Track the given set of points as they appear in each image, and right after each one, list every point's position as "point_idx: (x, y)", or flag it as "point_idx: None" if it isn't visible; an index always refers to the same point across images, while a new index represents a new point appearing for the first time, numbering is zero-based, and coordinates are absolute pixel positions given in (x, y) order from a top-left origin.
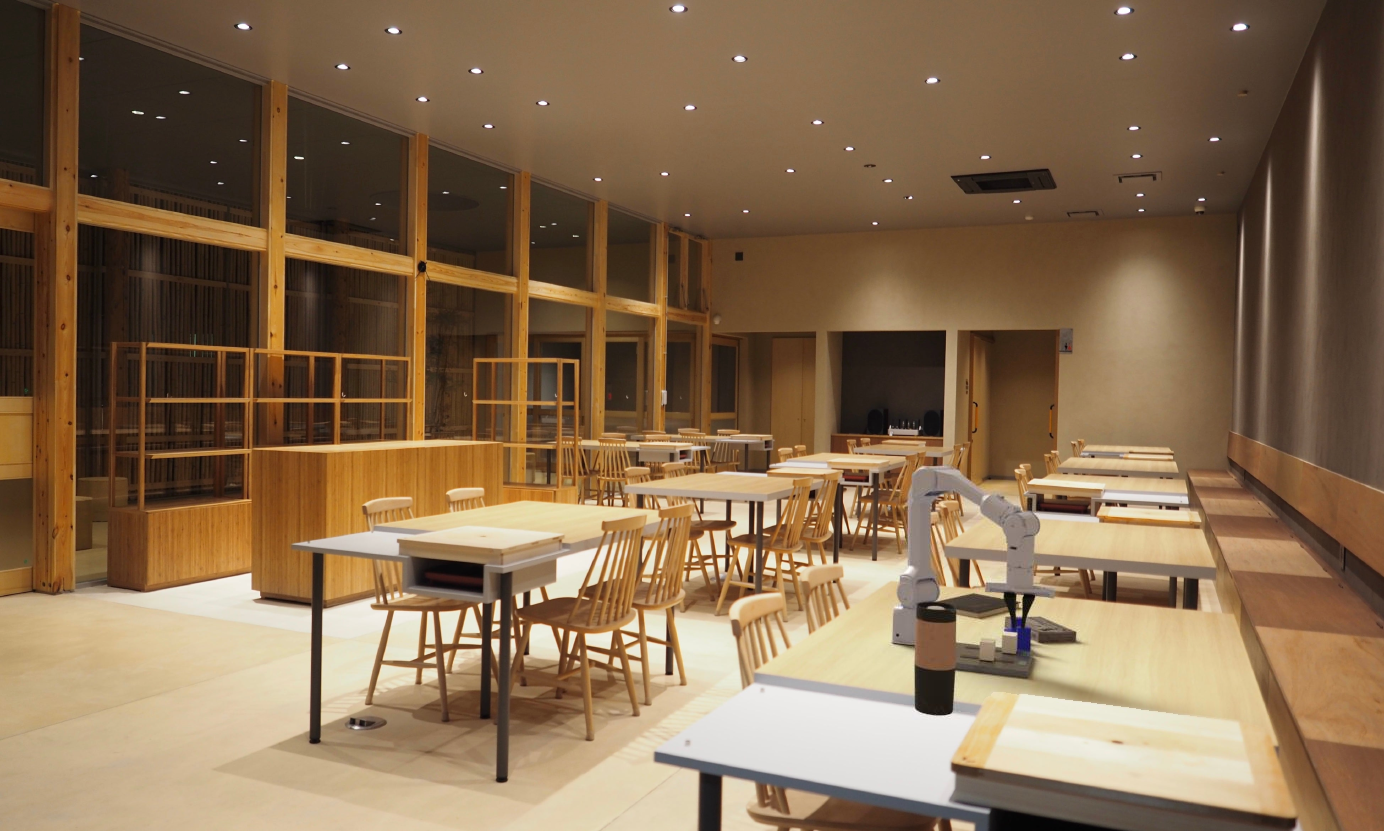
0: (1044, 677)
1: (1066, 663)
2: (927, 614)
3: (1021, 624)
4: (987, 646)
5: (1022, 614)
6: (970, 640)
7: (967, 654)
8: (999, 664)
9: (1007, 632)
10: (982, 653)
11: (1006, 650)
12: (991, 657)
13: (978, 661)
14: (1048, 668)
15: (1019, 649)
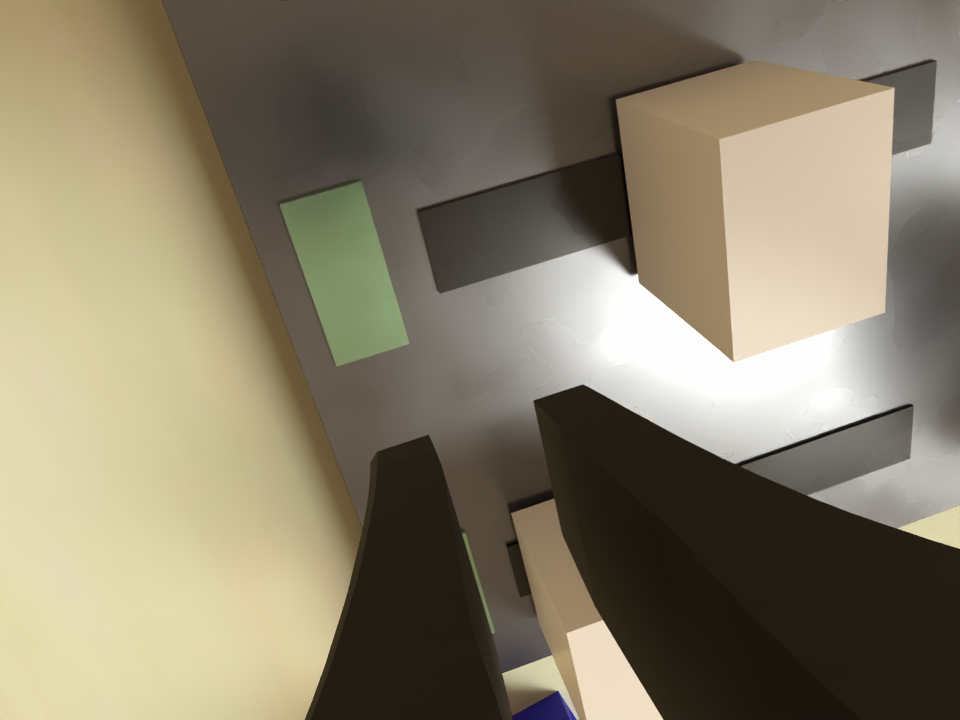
0: (29, 138)
1: (141, 707)
2: None
3: (433, 465)
4: (765, 105)
5: (462, 619)
6: None
7: None
8: (528, 36)
9: None
10: (765, 80)
11: None
12: (651, 99)
13: (749, 3)
14: (177, 480)
15: (551, 716)
